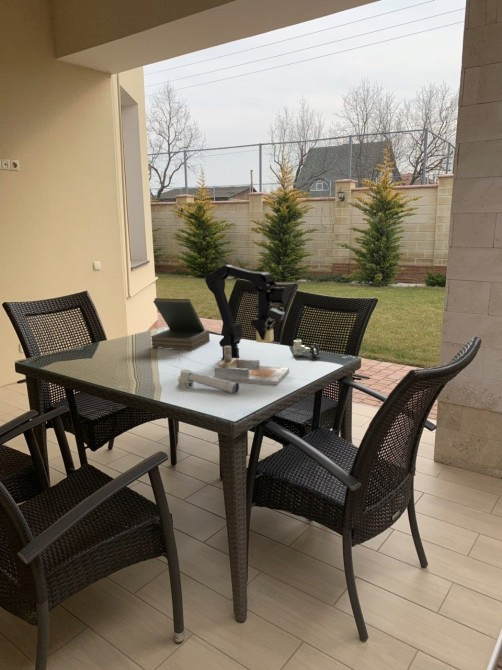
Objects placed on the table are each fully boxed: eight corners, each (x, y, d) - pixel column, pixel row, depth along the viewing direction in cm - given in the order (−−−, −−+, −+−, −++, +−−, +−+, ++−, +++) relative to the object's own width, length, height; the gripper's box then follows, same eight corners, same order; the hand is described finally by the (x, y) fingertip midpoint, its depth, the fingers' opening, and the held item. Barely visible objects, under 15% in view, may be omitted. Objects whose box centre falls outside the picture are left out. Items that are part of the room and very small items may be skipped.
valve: (289, 355, 223) (311, 359, 215) (289, 341, 221) (311, 344, 214) (298, 352, 228) (319, 356, 220) (297, 338, 226) (319, 341, 219)
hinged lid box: (209, 342, 255) (207, 294, 249) (192, 351, 237) (189, 300, 231) (171, 339, 263) (168, 293, 257) (151, 348, 245) (147, 299, 239)
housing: (256, 342, 207) (256, 330, 206) (260, 339, 212) (260, 327, 211) (270, 342, 205) (269, 330, 204) (273, 340, 210) (273, 328, 209)
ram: (218, 372, 193) (217, 349, 191) (228, 365, 202) (227, 343, 200) (228, 373, 192) (227, 350, 190) (237, 366, 201) (236, 344, 199)
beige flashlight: (233, 385, 171) (175, 368, 182) (231, 402, 173) (174, 384, 184) (240, 380, 176) (183, 364, 187) (239, 397, 178) (182, 380, 188)
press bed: (212, 379, 190) (212, 368, 189) (229, 367, 207) (229, 356, 206) (276, 385, 182) (276, 373, 181) (289, 371, 198) (289, 360, 197)
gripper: (276, 306, 194) (276, 344, 197) (288, 299, 211) (289, 335, 214) (249, 306, 197) (250, 343, 201) (264, 299, 214) (264, 333, 218)
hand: (265, 338), depth 208 cm, fingers closed on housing, 5 cm apart
